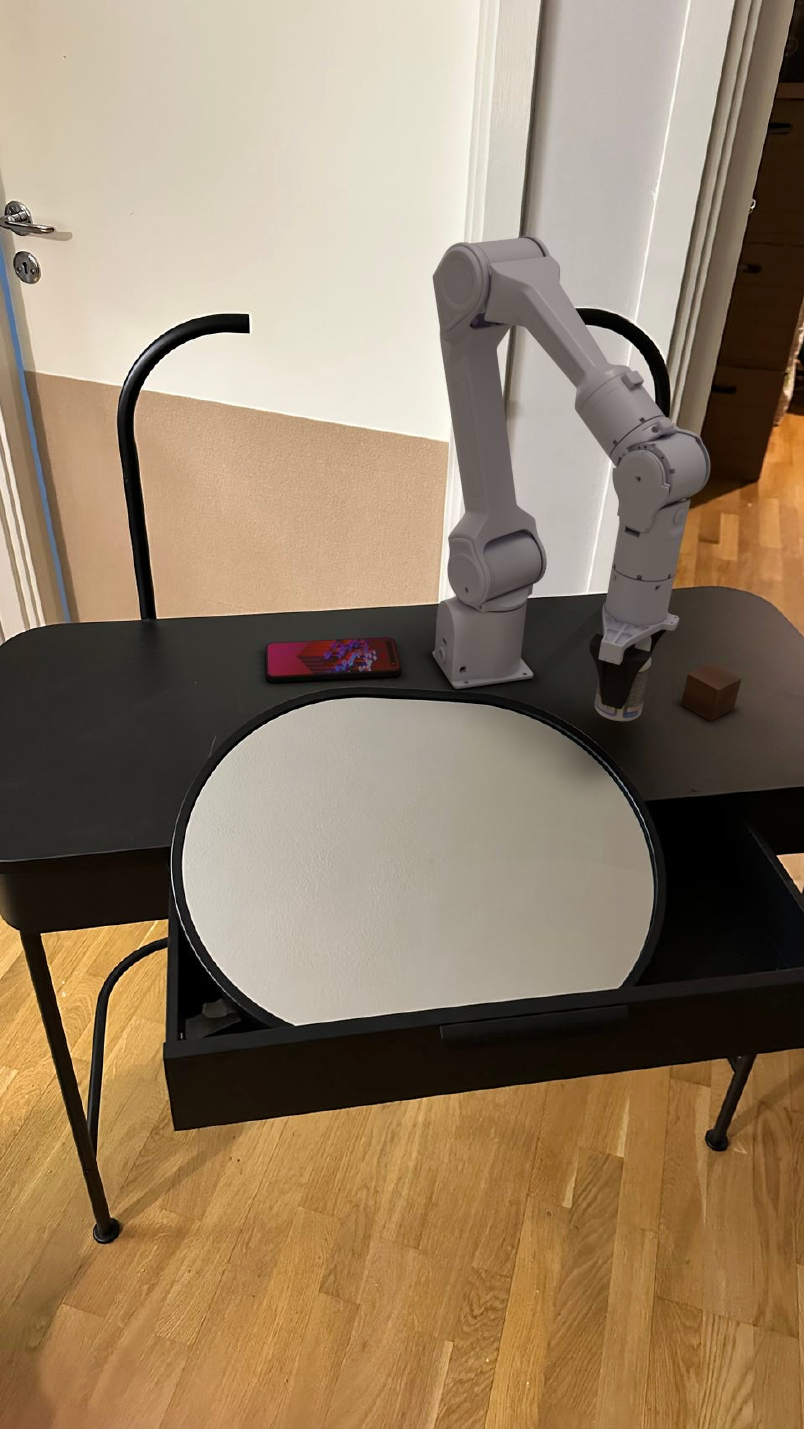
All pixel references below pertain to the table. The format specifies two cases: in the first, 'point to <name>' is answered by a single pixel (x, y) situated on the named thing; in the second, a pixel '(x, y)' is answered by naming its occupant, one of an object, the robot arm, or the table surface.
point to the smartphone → (332, 659)
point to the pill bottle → (636, 695)
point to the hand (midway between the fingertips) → (620, 692)
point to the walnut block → (711, 691)
